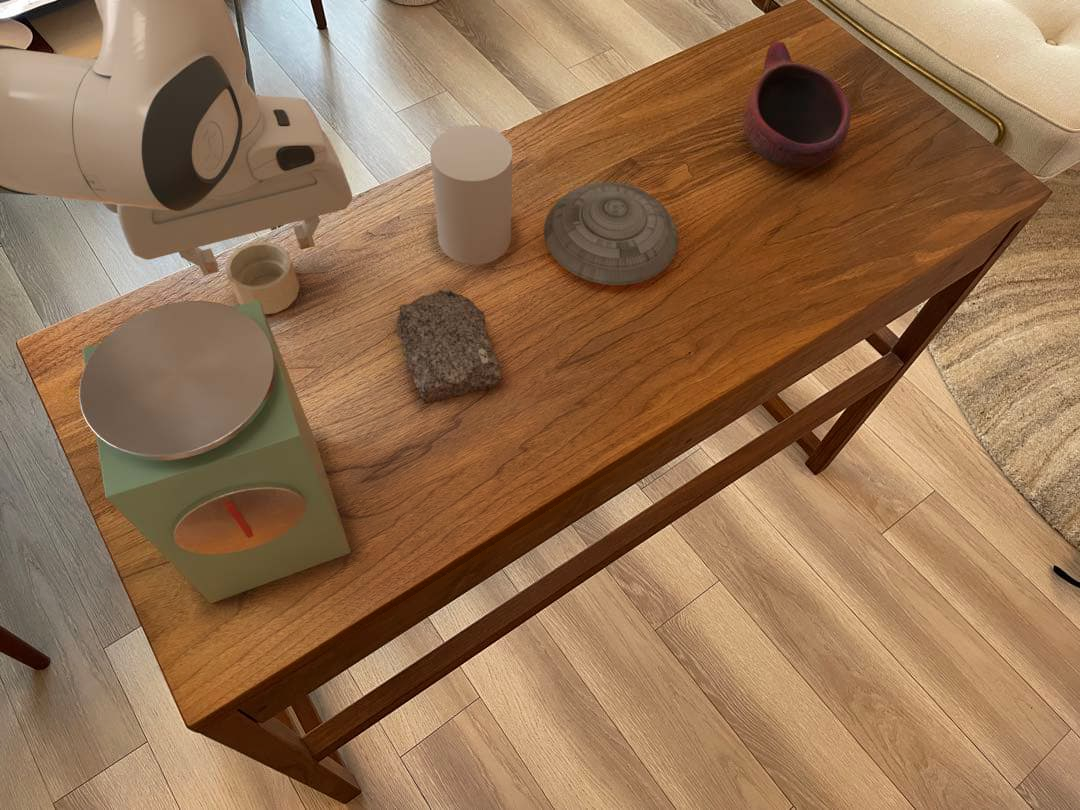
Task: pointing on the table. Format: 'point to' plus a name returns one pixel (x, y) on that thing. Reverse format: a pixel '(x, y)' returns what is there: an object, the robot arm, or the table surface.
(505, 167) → the taupe round pillar
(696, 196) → the table surface
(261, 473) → the scale
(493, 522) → the table surface
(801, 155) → the bowl
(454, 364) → the stone
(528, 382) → the table surface
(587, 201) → the flying saucer
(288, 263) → the small bowl
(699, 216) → the table surface
